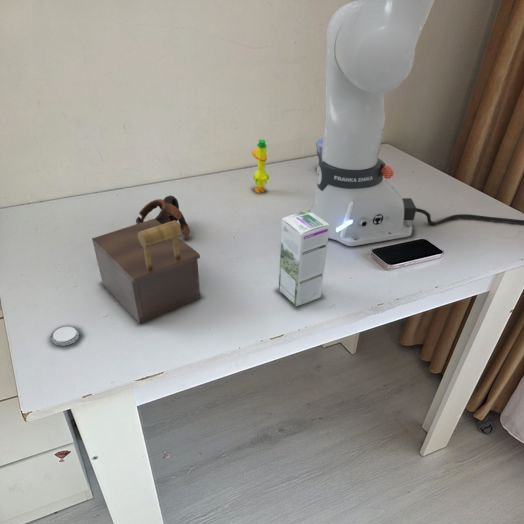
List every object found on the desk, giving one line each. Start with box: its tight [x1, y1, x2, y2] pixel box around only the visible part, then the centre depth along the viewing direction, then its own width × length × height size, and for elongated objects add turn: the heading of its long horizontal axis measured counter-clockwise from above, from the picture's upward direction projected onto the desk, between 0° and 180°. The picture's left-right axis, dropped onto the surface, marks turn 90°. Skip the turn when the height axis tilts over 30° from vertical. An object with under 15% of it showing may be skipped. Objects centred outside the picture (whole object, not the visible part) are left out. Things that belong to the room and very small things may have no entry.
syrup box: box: [278, 210, 330, 307], centre depth 81 cm, size 6×6×14 cm
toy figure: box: [251, 139, 270, 194], centre depth 112 cm, size 7×4×12 cm, turn 27°
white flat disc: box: [50, 325, 80, 346], centre depth 76 cm, size 4×4×1 cm
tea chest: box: [92, 242, 201, 324], centre depth 83 cm, size 14×12×8 cm
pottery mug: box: [135, 195, 191, 241], centre depth 99 cm, size 12×10×8 cm
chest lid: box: [91, 218, 201, 283], centre depth 78 cm, size 15×12×7 cm
